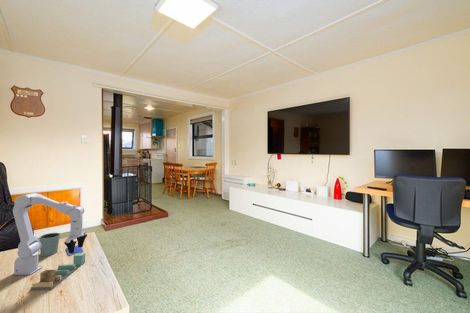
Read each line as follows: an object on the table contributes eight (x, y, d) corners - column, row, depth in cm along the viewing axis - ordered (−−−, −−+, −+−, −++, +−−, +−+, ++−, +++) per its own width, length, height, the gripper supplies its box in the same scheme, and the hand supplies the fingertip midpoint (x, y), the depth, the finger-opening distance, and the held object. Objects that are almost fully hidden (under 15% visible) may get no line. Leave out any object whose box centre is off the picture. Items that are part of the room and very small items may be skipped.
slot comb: (30, 289, 102) (30, 283, 102) (58, 269, 120) (58, 264, 120) (52, 289, 103) (52, 283, 103) (76, 269, 121) (77, 264, 121)
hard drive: (65, 248, 145) (68, 254, 137) (79, 244, 151) (83, 250, 142) (65, 250, 145) (68, 256, 137) (79, 246, 151) (83, 252, 142)
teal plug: (73, 265, 125) (73, 255, 125) (76, 262, 128) (76, 253, 128) (81, 265, 126) (82, 255, 126) (85, 262, 129) (85, 253, 129)
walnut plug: (40, 285, 105) (40, 273, 105) (45, 281, 108) (45, 269, 108) (50, 284, 105) (50, 273, 105) (55, 281, 108) (55, 269, 108)
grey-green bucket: (37, 253, 138) (37, 235, 138) (56, 248, 147) (56, 231, 147) (42, 258, 133) (43, 239, 133) (62, 252, 141) (62, 234, 141)
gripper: (74, 231, 117) (74, 255, 117) (91, 223, 131) (90, 244, 132) (61, 231, 117) (61, 255, 117) (79, 223, 131) (79, 244, 131)
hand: (76, 249), depth 124 cm, fingers open, 7 cm apart
